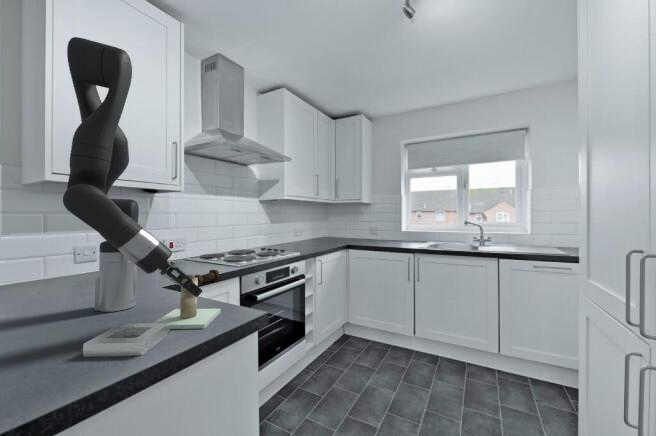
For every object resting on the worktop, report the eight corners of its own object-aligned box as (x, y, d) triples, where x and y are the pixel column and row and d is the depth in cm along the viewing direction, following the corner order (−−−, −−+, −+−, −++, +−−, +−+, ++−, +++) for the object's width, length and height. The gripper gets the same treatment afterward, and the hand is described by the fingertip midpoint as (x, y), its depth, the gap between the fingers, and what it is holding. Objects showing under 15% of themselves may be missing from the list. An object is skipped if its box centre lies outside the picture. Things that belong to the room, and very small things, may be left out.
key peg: (177, 318, 74) (178, 276, 75) (184, 313, 78) (185, 273, 79) (193, 318, 74) (194, 276, 75) (198, 313, 78) (200, 273, 79)
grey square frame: (83, 356, 55) (83, 343, 55) (120, 334, 66) (120, 323, 66) (141, 355, 56) (142, 342, 56) (169, 333, 67) (169, 323, 67)
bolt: (187, 291, 115) (213, 283, 129) (195, 286, 113) (221, 278, 127) (181, 279, 116) (208, 271, 130) (190, 273, 114) (216, 267, 128)
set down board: (149, 329, 69) (150, 325, 69) (174, 312, 82) (175, 309, 82) (204, 328, 70) (204, 324, 70) (220, 312, 83) (220, 308, 83)
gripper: (164, 241, 66) (215, 285, 74) (153, 238, 77) (198, 276, 85) (136, 265, 63) (193, 309, 70) (129, 259, 74) (178, 297, 81)
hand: (195, 291), depth 78 cm, fingers open, 5 cm apart
